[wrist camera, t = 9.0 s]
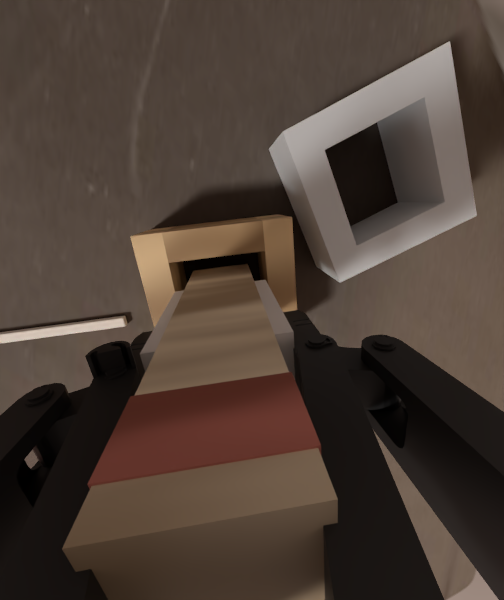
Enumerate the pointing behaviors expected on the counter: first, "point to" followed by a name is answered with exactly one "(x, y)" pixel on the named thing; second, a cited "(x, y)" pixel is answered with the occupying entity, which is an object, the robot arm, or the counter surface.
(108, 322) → the thin white stick
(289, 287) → the wooden square frame
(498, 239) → the counter surface
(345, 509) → the robot arm
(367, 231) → the grey square frame
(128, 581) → the red-banded tall box
